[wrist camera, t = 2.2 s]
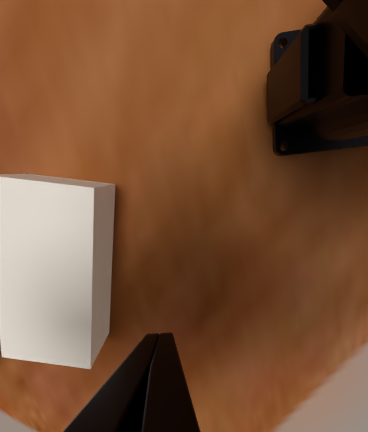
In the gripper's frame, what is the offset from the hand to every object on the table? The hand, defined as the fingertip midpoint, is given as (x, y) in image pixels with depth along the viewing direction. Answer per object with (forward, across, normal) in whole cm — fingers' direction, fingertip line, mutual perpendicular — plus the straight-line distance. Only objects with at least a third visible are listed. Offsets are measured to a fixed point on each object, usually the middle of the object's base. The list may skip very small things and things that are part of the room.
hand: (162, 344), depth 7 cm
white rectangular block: (+9, +8, 0) cm, 12 cm away
